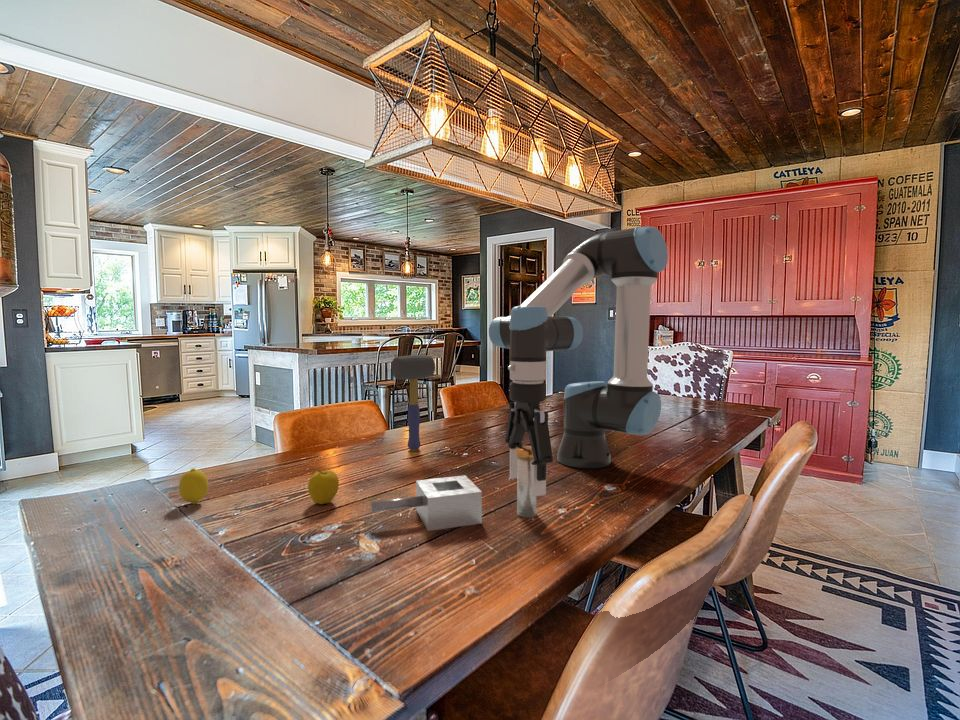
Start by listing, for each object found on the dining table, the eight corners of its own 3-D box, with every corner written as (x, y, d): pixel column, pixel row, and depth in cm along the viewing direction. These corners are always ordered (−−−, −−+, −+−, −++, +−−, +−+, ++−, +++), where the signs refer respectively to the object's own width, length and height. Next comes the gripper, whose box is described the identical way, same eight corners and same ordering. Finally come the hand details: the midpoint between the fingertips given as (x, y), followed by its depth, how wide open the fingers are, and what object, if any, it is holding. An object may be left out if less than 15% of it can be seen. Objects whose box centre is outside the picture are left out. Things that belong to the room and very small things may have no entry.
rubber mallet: (401, 456, 146) (400, 356, 144) (390, 450, 152) (389, 355, 150) (437, 449, 153) (436, 354, 151) (425, 444, 159) (424, 353, 157)
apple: (306, 509, 104) (305, 473, 103) (311, 499, 110) (310, 464, 110) (337, 508, 105) (336, 472, 104) (340, 497, 111) (340, 463, 111)
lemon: (173, 506, 105) (172, 470, 105) (196, 498, 111) (195, 463, 110) (192, 510, 104) (190, 473, 103) (214, 501, 109) (213, 466, 108)
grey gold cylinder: (532, 508, 105) (532, 444, 104) (541, 516, 100) (542, 450, 99) (511, 511, 103) (511, 446, 102) (520, 519, 99) (521, 452, 98)
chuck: (465, 504, 107) (465, 475, 107) (481, 523, 97) (481, 491, 97) (368, 516, 100) (368, 485, 100) (375, 538, 90) (374, 504, 90)
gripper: (490, 376, 109) (490, 471, 111) (536, 389, 88) (534, 508, 89) (521, 375, 112) (520, 468, 114) (572, 387, 90) (570, 503, 92)
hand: (526, 486), depth 101 cm, fingers open, 11 cm apart
